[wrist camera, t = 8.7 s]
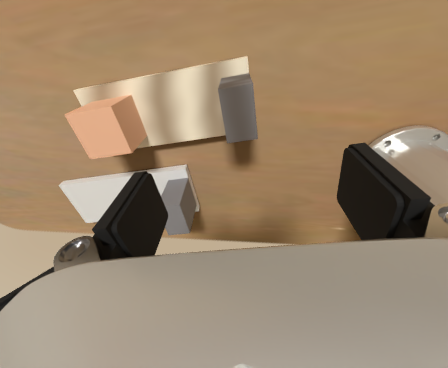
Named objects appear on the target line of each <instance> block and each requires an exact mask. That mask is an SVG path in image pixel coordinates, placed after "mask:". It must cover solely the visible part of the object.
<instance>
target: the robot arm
mask: <svg viewBox="0 0 448 368" xmlns="http://www.w3.org/2000/svg"><path fill="white" fill-rule="evenodd" d="M337 200H338V203H339V204H340V206H341V208H342V209H343V211H344V212H345V214H346V216H347V217H348V219H349V221H350V222H351V224H352V225H353V227H354V229H355V230H356V232H357V233H358V235H359V237H360V238H361V240H358V241H343V242H328V243H314V244H299V245H284V246H271V247H258V248H245V249H244V248H243V249H230V250H217V251H203V252H191V253H178V254H166V255H155V253H156V250H157V247H158V244H159V242H160V239H161V236H162V234H163V231H164V228H165V225H166V223H167V220H168V212H167V210H166V207H165V205H164V202H163V200H162V198H161V195H160V193H159V190H158V188H157V186H156V183H155V181H154V179H153V176H152V174H150V173H148V172H147V171H142V172H135V173H134V174H133V175H132V176H131V178H130V179H129V180H128V182H127V183H126V184H125V186H124V187H123V189H122V190H121V191H120V193H119V194H118V195H117V197H116V198H115V199H114V201H113V202H112V203H111V205H110V206H109V207H108V209H107V210H106V211H105V213H104V214H103V215H102V217H101V218H100V220H99V221H98V222H97V224H96V225H95V226H94V228H93V229H92V230H93V232H94V233H95V234H94V236H93V237H91V236H82V237H78V238H76V239H73V240H72V241H70V242H68V243H67V244H65V245H64V246H63V247H62V248H61V249H60V250H59V251H58V252H57V254H56V255H55V257H54V267H52V268H51V269H49V270H47V271H46V272H44V273H42V274H41V275H39V276H37V277H36V278H34V279H32V280H31V281H29V282H27V283H26V284H24V285H22V286H21V287H19V288H17V289H16V290H14V291H12V292H11V293H9V294H7V295H6V296H4V297H2V298H0V368H448V135H447V134H446V133H444V132H443V131H440V130H438V129H436V128H433V127H429V126H417V125H416V126H409V127H404V128H400V129H397V130H394V131H391V132H389V133H387V134H385V135H383V136H381V137H380V138H378V139H376V140H375V141H373V142H372V143H371V144H370V145H367V144H366V143H359V144H351V145H349V147H348V148H346V149H345V150H344V154H343V160H342V166H341V173H340V179H339V186H338V192H337Z"/></svg>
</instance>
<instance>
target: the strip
mask: <svg viewBox="0 0 448 368" xmlns="http://www.w3.org/2000/svg"><path fill="white" fill-rule="evenodd" d="M142 171H147V172H148V173H150V174H152V176H153V179H154V181H155V183H156V186H157V188H158V190H159V193H160V195H161V198H162V200H163V202H164V205H165V207H166V210H167V212H168V220H167V223H166V225H165V228H166V230H167V232H168V235H176V234H187V233H190V231H191V227H192V222H193V218H194V213H195V212H197V211H199V208H200V206H199V202H198V199H197V196H196V192H195V189H194V186H193V183H192V179H191V176H190V173H189V170H188V166H187V165H180V166H172V167H165V168H157V169H150V170H142ZM142 171H135V172H142ZM135 172H127V173H120V174H112V175H105V176H97V177H90V178H82V179H75V180H67V181H63V182H62V183H61V184H60V185H59V187H60V188H61V189H62V191H63V192H64V193H65V195H66V196H67V197H68V199H69V200H70V202H71V203H72V204H73V206H74V207H75V208H76V210H77V211H78V212H79V214H80V215H81V217H82V218H83V219H84V221H85V222H86V223H91V222H98V221H99V220H100V218H101V217H102V215H103V214H104V213H105V211H106V210H107V209H108V207H109V206H110V205H111V203H112V202H113V201H114V199H115V198H116V197H117V195H118V194H119V193H120V191H121V190H122V189H123V187H124V186H125V184H126V183H127V182H128V180H129V179H130V178H131V176H132V175H133V174H134V173H135Z"/></svg>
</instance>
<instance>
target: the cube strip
mask: <svg viewBox="0 0 448 368" xmlns="http://www.w3.org/2000/svg"><path fill="white" fill-rule="evenodd" d="M74 93H75V94H76V96H77V98H78V100H79V102H80V104H81V106H84V105H86V104H88V103H90V102H94V101H99V100H104V99H110V98H115V97H121V96H126V95H132V97H133V100H134V103H135V105H136V108H137V110H138V113H139V115H140V118H141V121H142V123H143V126H144V128H145V131H146V133H147V136H146V138H145V139H144V140H143V141H142V142H141V143H140V145H139V146H138V147H137V148H143V147H150V146H156V145H163V144H170V143H177V142H183V141H190V140H197V139H204V138H210V137H217V136H224V135H226V139H227V143H233V142H240V141H247V140H254V139H258V136H257V125H256V113H255V102H254V90H253V82H252V80H251V77H250V75H249V69H248V58H247V56H245V57H240V58H235V59H229V60H224V61H219V62H214V63H209V64H204V65H198V66H193V67H188V68H183V69H178V70H172V71H167V72H162V73H157V74H152V75H147V76H141V77H136V78H131V79H126V80H121V81H115V82H110V83H105V84H100V85H95V86H90V87H84V88H79V89H76V90H74Z"/></svg>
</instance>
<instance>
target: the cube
mask: <svg viewBox="0 0 448 368" xmlns="http://www.w3.org/2000/svg"><path fill="white" fill-rule="evenodd" d="M65 117H66V118H67V120H68V122H69V123H70V125H71V127H72V129H73V130H74V132H75V134H76V135H77V137H78V139H79V141H80V142H81V144H82V146H83V147H84V149H85V151H86V153H87V154H88V156H89V158H90V159H95V158H102V157H109V156H116V155H123V154H129V153H133V151H134V150H135V149H136V148H137V147H138V146H139V145H140V143H141V142H142V141H143V140H144V139H145V138H146V136H147V133H146V131H145V128H144V126H143V123H142V121H141V118H140V115H139V113H138V110H137V108H136V105H135V103H134V100H133V97H132V95H126V96H121V97H115V98H110V99H104V100H99V101H94V102H90V103H88V104H86V105H84V106H82V107H80V108H78V109H75V110H73V111H71V112H69V113H67V114H65Z"/></svg>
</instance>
